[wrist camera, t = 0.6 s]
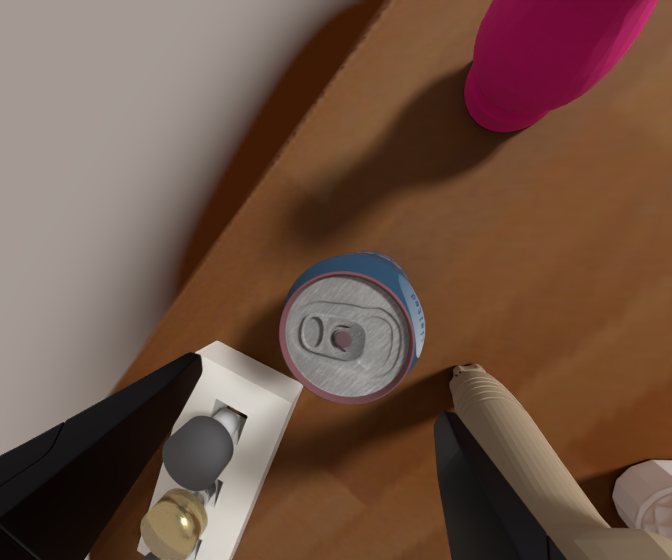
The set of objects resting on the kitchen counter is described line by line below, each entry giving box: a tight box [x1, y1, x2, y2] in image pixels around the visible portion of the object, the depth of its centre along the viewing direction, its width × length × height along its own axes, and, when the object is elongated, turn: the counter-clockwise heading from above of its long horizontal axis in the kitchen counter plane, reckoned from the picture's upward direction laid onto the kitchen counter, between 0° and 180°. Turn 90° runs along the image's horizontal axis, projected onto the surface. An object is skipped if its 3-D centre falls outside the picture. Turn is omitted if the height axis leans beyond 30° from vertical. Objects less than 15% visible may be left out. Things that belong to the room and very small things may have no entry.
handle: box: [449, 363, 672, 560], centre depth 14 cm, size 5×6×15 cm
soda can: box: [279, 251, 425, 405], centre depth 16 cm, size 7×7×12 cm
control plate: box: [137, 341, 303, 560], centre depth 26 cm, size 26×10×3 cm, turn 158°
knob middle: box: [141, 482, 216, 560], centre depth 23 cm, size 5×5×5 cm
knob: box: [162, 409, 240, 491], centre depth 21 cm, size 5×5×5 cm
